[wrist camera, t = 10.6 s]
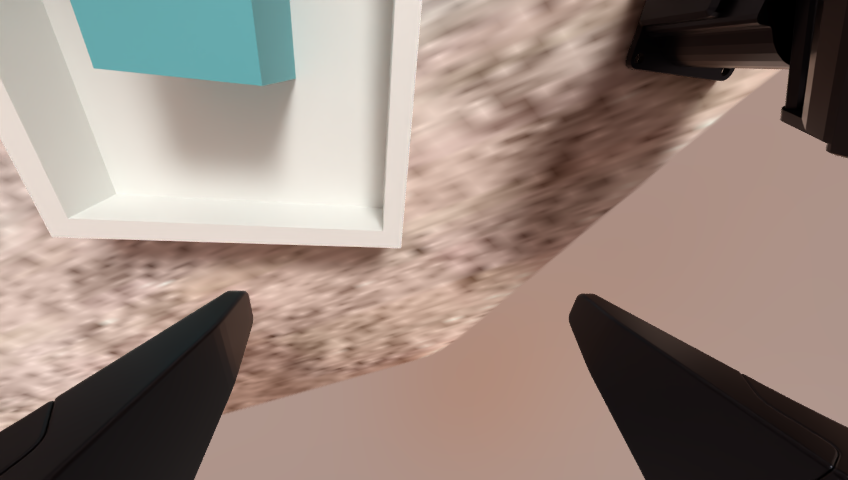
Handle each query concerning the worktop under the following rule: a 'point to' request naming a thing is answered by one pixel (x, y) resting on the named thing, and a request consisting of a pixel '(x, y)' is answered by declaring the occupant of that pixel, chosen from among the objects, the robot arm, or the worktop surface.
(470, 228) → the worktop surface
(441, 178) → the worktop surface
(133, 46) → the teal block
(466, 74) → the worktop surface
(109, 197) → the grey tray
